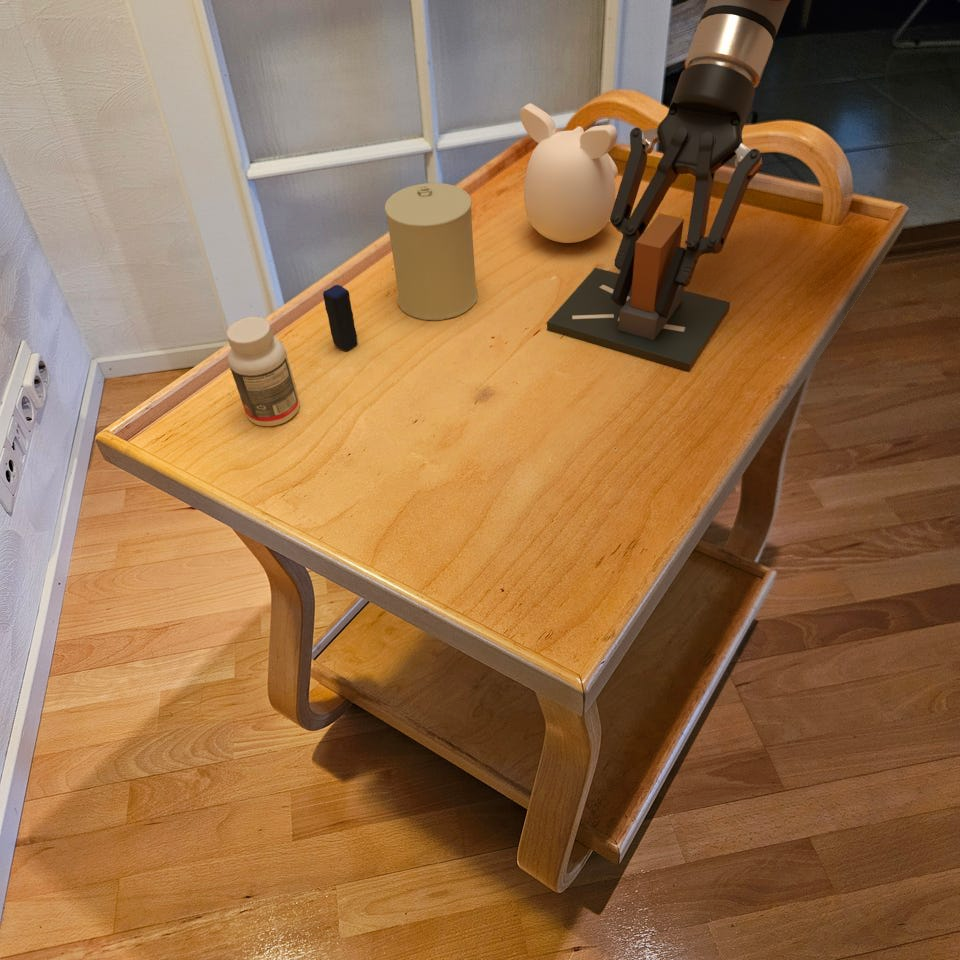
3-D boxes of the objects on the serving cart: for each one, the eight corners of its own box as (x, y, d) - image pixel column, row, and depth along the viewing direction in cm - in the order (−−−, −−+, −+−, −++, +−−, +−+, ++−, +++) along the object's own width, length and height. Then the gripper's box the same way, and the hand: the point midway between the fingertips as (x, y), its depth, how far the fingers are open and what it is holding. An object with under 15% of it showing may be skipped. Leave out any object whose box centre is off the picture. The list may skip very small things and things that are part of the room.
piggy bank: (629, 218, 104) (639, 96, 94) (600, 266, 97) (607, 139, 86) (537, 204, 108) (537, 85, 98) (503, 248, 101) (498, 125, 90)
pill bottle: (245, 398, 84) (218, 317, 77) (298, 388, 84) (276, 307, 77) (247, 433, 80) (219, 351, 73) (303, 422, 81) (280, 340, 74)
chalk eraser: (682, 300, 90) (694, 215, 82) (654, 340, 85) (663, 255, 78) (648, 290, 91) (656, 206, 84) (618, 330, 87) (624, 245, 79)
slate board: (729, 309, 90) (730, 301, 89) (688, 371, 83) (690, 363, 82) (594, 274, 96) (595, 266, 95) (546, 329, 89) (546, 321, 88)
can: (468, 269, 98) (461, 172, 90) (486, 312, 92) (480, 212, 83) (392, 282, 97) (377, 185, 89) (404, 327, 91) (390, 227, 82)
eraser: (332, 345, 89) (320, 291, 84) (348, 336, 90) (337, 282, 85) (344, 353, 88) (333, 299, 83) (360, 344, 89) (350, 289, 84)
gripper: (808, 110, 81) (725, 338, 84) (646, 84, 88) (573, 296, 90) (806, 72, 74) (715, 322, 77) (630, 48, 81) (551, 278, 83)
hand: (639, 308), depth 83 cm, fingers closed on chalk eraser, 4 cm apart
